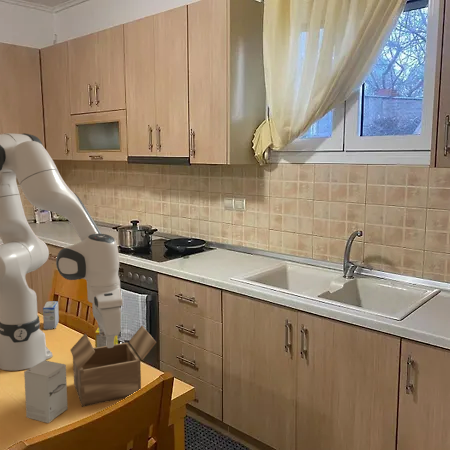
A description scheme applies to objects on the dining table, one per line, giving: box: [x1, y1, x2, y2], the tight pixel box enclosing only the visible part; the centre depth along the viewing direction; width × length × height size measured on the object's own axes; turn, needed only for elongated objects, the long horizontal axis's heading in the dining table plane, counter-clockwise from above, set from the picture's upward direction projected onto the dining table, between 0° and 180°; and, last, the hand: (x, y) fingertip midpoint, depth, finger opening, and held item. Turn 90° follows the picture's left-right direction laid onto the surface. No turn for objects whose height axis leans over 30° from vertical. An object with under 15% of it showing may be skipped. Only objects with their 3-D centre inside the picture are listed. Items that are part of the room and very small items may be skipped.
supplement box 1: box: [23, 360, 68, 424], centre depth 123 cm, size 7×7×13 cm
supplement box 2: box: [94, 326, 119, 348], centre depth 155 cm, size 6×6×11 cm
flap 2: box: [128, 325, 157, 361], centre depth 140 cm, size 14×6×1 cm
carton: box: [72, 341, 142, 408], centre depth 136 cm, size 14×16×10 cm
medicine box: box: [42, 300, 60, 330], centre depth 185 cm, size 8×4×9 cm, turn 10°
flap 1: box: [70, 333, 95, 370], centre depth 133 cm, size 14×6×1 cm
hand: (106, 340), depth 135 cm, fingers open, 8 cm apart
